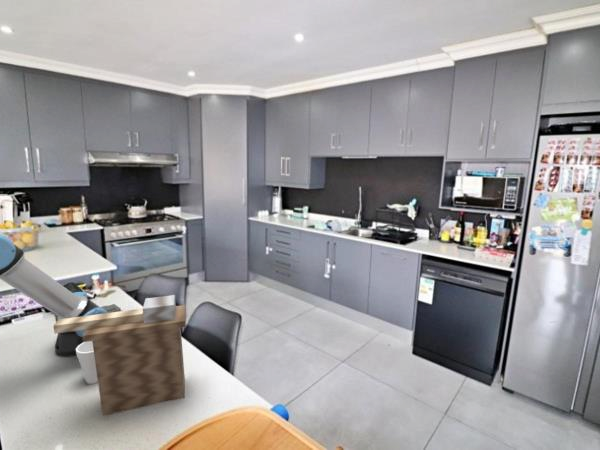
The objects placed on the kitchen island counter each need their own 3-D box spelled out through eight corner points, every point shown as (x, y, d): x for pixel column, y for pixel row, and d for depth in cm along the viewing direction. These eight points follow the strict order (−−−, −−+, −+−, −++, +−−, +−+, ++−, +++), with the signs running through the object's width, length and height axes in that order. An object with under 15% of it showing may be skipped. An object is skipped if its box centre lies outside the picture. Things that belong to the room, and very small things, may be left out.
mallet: (52, 337, 93) (49, 321, 92) (62, 323, 101) (59, 308, 100) (175, 319, 104) (173, 304, 103) (175, 308, 111) (174, 294, 110)
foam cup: (78, 389, 112) (73, 356, 109) (82, 374, 120) (77, 342, 117) (110, 381, 116) (106, 348, 114) (111, 366, 124) (107, 336, 122)
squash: (38, 303, 166) (53, 283, 162) (64, 293, 180) (78, 274, 177) (58, 322, 166) (73, 303, 162) (82, 310, 180) (97, 292, 177)
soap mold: (70, 321, 160) (69, 314, 160) (114, 307, 175) (113, 301, 175) (77, 327, 154) (76, 321, 153) (122, 312, 169) (121, 306, 168)
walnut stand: (94, 419, 99) (82, 335, 94) (103, 393, 111) (93, 317, 105) (190, 398, 108) (185, 320, 103) (190, 375, 119) (185, 304, 114)
